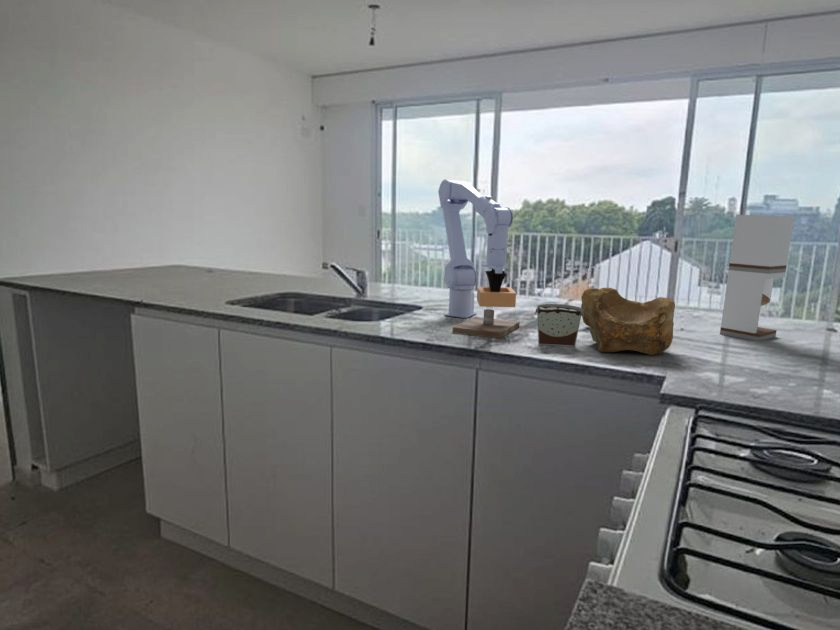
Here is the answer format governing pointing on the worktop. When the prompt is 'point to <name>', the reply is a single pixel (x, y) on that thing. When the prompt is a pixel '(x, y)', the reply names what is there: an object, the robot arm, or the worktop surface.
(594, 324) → the rough brown rock
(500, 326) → the post base
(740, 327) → the white stacked pedestal
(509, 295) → the shallow wooden tray
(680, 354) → the worktop surface
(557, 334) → the food container
